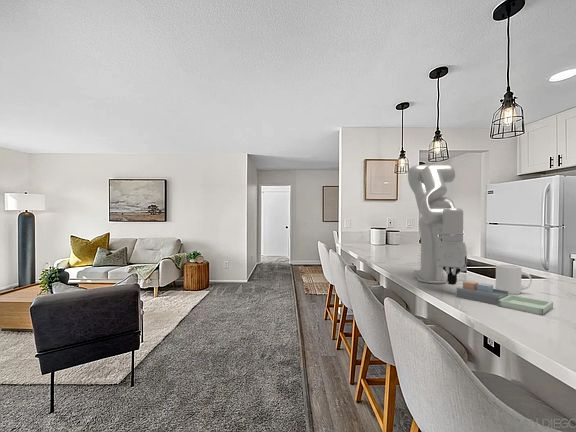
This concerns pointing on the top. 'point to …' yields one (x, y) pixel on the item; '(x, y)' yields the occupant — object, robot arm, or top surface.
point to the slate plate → (482, 295)
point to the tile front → (485, 288)
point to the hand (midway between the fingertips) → (452, 284)
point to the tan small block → (470, 285)
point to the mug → (510, 278)
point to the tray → (525, 304)
